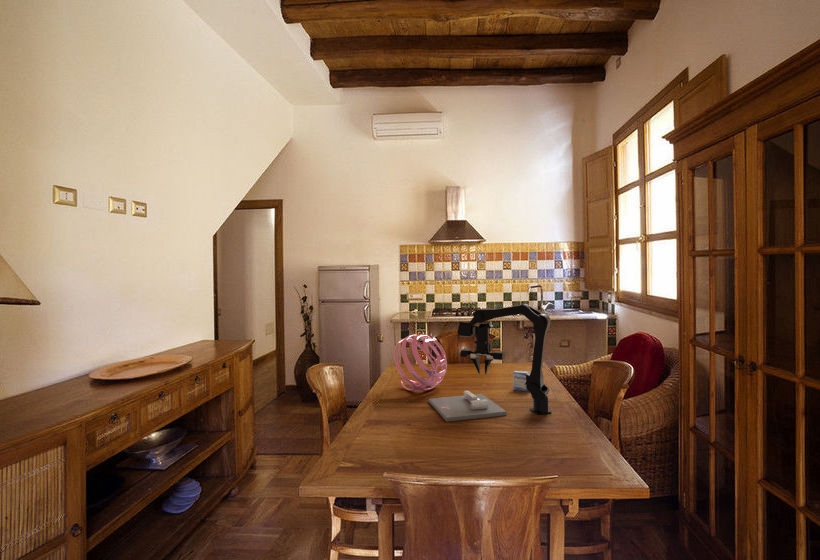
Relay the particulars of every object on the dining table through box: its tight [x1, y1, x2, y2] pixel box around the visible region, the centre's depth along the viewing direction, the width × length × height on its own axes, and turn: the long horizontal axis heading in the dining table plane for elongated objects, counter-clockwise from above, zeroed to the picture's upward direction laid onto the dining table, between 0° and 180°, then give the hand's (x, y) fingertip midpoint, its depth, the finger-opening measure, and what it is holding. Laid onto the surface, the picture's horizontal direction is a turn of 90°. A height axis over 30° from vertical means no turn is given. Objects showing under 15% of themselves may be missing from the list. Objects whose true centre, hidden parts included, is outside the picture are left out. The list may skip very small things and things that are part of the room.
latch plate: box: [428, 393, 507, 422], centre depth 179 cm, size 25×25×2 cm
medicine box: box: [512, 370, 530, 393], centre depth 204 cm, size 8×4×9 cm, turn 62°
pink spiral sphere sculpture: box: [393, 333, 448, 392], centre depth 209 cm, size 28×28×27 cm
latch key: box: [463, 390, 488, 410], centre depth 180 cm, size 16×7×3 cm, turn 13°
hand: (482, 373), depth 184 cm, fingers open, 3 cm apart
